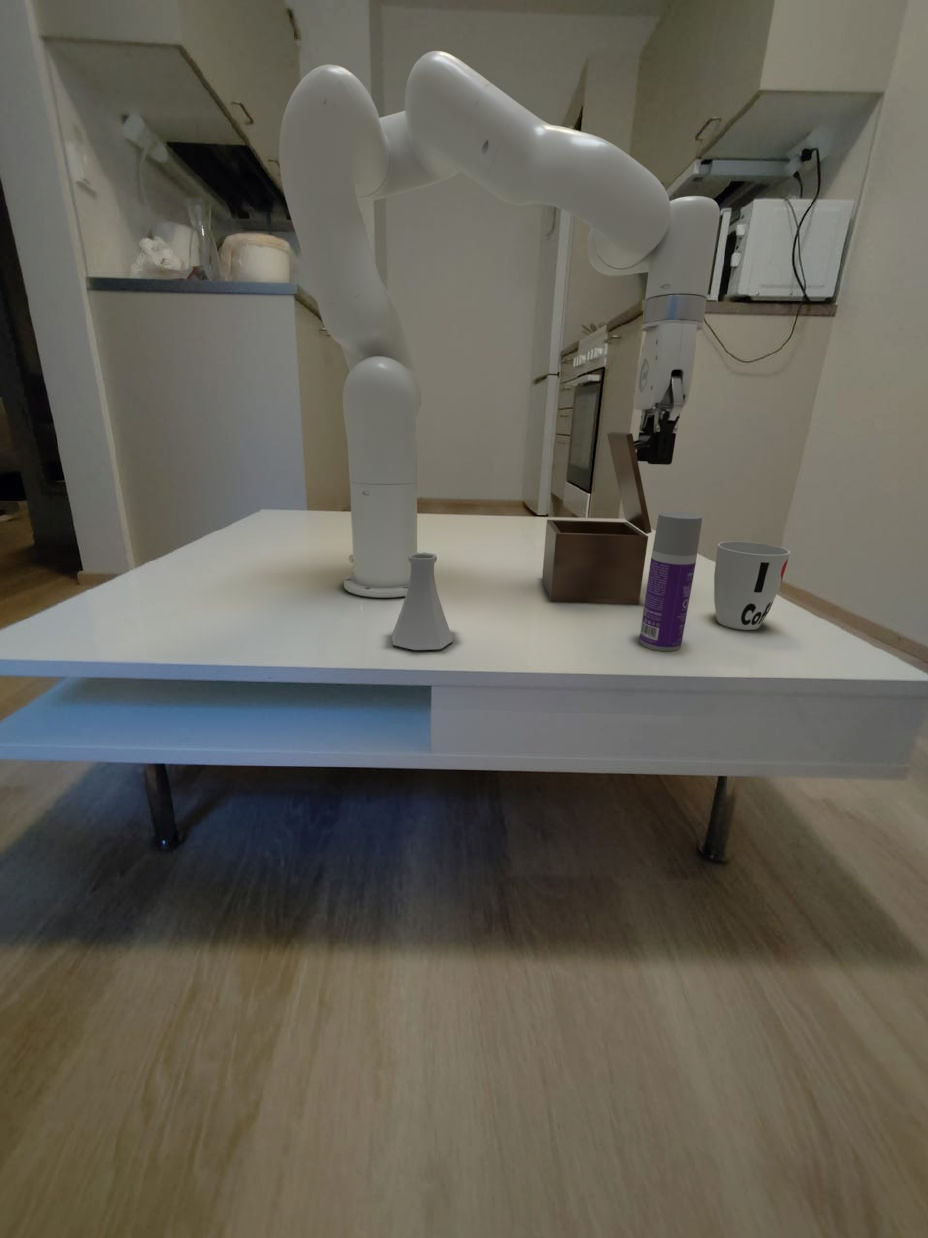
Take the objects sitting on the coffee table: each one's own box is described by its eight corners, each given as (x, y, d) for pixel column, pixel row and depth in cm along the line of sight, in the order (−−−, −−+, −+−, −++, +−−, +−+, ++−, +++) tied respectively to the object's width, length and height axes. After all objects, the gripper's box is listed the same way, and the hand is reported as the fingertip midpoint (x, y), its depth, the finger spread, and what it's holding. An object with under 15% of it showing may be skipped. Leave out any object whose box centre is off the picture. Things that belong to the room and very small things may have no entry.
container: (684, 653, 61) (708, 519, 56) (641, 649, 62) (660, 517, 57) (677, 638, 66) (699, 513, 61) (637, 634, 67) (655, 510, 61)
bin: (550, 601, 78) (556, 533, 75) (542, 579, 89) (546, 519, 86) (638, 604, 78) (648, 536, 75) (619, 582, 89) (627, 521, 85)
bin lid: (626, 435, 70) (664, 423, 70) (606, 433, 81) (639, 422, 81) (646, 534, 74) (682, 523, 74) (625, 519, 85) (656, 510, 85)
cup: (744, 638, 66) (761, 557, 63) (690, 617, 73) (703, 543, 70) (786, 628, 70) (804, 551, 67) (731, 609, 77) (745, 539, 73)
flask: (382, 649, 60) (380, 561, 57) (400, 626, 67) (399, 546, 64) (447, 655, 59) (448, 565, 56) (458, 631, 66) (460, 550, 63)
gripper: (627, 327, 79) (612, 458, 85) (664, 302, 63) (642, 466, 69) (679, 328, 79) (660, 459, 85) (730, 304, 63) (702, 468, 69)
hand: (652, 461), depth 77 cm, fingers closed on bin lid, 5 cm apart
